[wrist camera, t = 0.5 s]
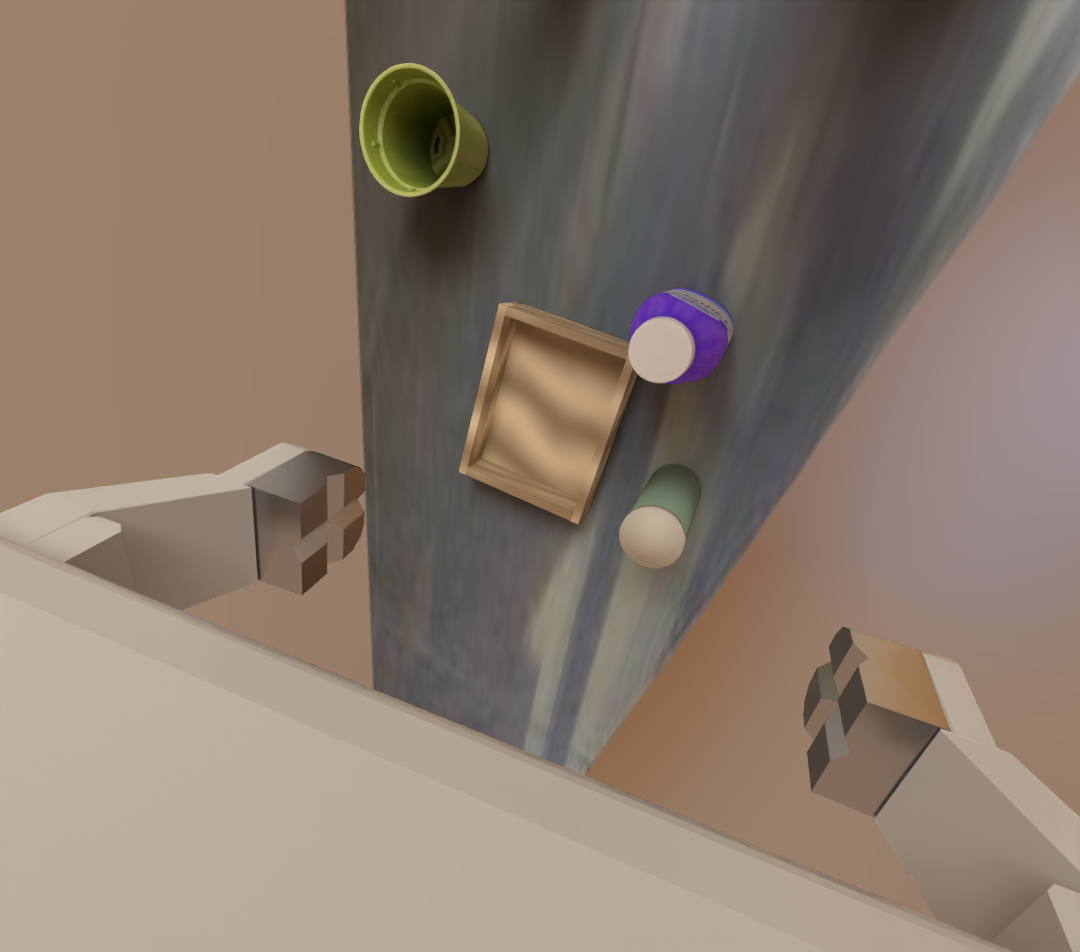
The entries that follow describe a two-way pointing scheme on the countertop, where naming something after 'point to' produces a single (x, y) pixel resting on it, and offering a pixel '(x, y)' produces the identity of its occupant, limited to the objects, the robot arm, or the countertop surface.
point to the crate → (547, 409)
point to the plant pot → (419, 133)
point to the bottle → (678, 336)
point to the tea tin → (661, 517)
